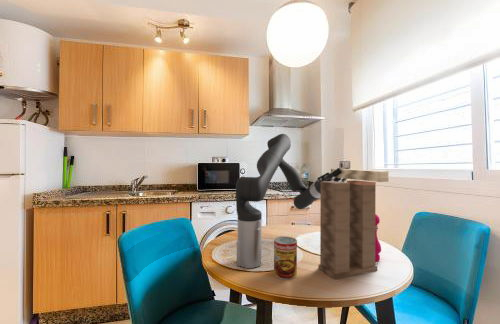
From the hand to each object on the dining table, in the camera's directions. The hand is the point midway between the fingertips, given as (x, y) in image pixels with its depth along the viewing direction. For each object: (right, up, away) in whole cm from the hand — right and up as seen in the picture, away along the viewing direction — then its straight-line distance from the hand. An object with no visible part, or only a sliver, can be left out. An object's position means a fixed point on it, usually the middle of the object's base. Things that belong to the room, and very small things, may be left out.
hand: (344, 170), depth 99 cm
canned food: (-26, -36, -13) cm, 46 cm away
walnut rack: (-3, -36, -10) cm, 37 cm away
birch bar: (+2, -3, -6) cm, 7 cm away
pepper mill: (+11, -36, +1) cm, 38 cm away
